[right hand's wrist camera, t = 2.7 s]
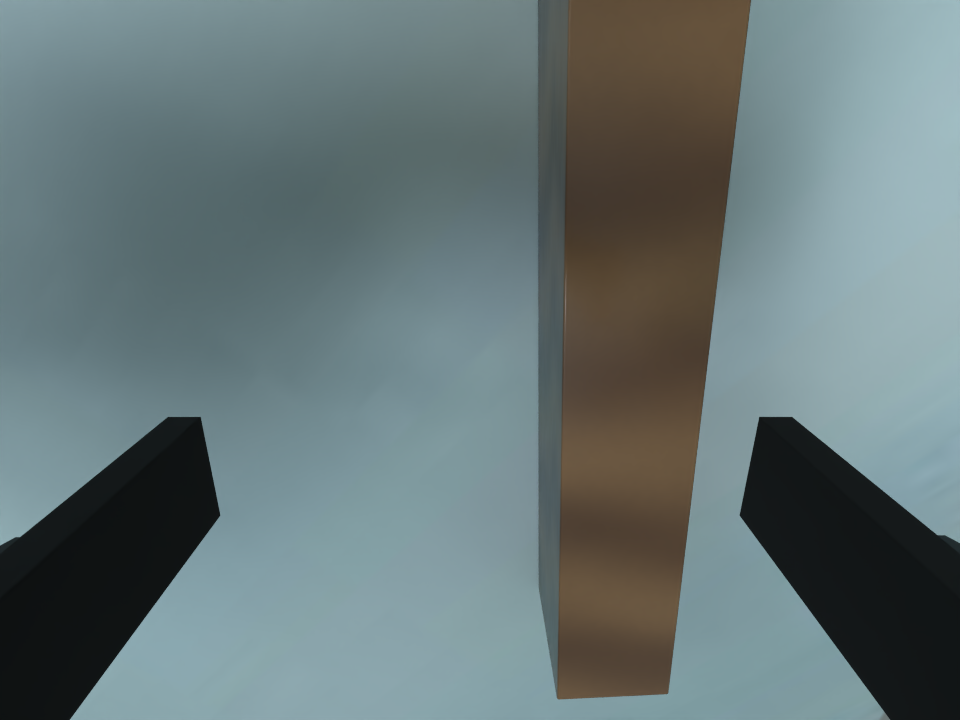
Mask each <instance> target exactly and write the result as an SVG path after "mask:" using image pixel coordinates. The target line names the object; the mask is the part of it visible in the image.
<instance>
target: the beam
mask: <svg viewBox="0 0 960 720" xmlns="http://www.w3.org/2000/svg"><path fill="white" fill-rule="evenodd" d="M750 4H751V0H538V175H539V592H540V598H541V604H542V610H543V616H544V622H545V629H546V635H547V641H548V647H549V653H550V659H551V665H552V671H553V677H554V683H555V689H556V695H557V699H577V698H597V697H617V696H638V695H658V694H668V690H669V682H670V674H671V665H672V657H673V649H674V640H675V632H676V623H677V615H678V607H679V598H680V590H681V582H682V573H683V565H684V556H685V548H686V540H687V531H688V523H689V515H690V506H691V498H692V489H693V481H694V473H695V464H696V456H697V448H698V439H699V431H700V422H701V414H702V406H703V397H704V389H705V380H706V372H707V364H708V355H709V347H710V339H711V330H712V322H713V313H714V305H715V297H716V288H717V280H718V272H719V263H720V255H721V246H722V238H723V230H724V221H725V213H726V205H727V196H728V188H729V179H730V171H731V163H732V154H733V146H734V138H735V129H736V121H737V112H738V104H739V96H740V87H741V79H742V71H743V62H744V54H745V45H746V37H747V29H748V20H749V12H750Z"/></svg>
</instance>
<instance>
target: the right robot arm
mask: <svg viewBox="0 0 960 720" xmlns="http://www.w3.org/2000/svg"><path fill="white" fill-rule="evenodd" d="M219 517H220V512H219V507H218V502H217V497H216V492H215V487H214V482H213V477H212V472H211V467H210V462H209V457H208V452H207V447H206V442H205V437H204V431H203V426H202V421H201V417H167V418H166V419H165V420H164V421H163V422H161V423H160V424H159V425H158V426H156V427H155V428H154V429H153V430H152V431H150V432H149V433H148V434H147V435H145V436H144V437H143V438H142V439H140V440H139V441H138V442H137V443H136V444H134V445H133V446H132V447H131V448H129V449H128V450H127V451H126V452H124V453H123V454H122V455H121V456H120V457H118V458H117V459H116V460H115V461H113V462H112V463H111V464H110V465H108V466H107V467H106V468H105V469H104V470H102V471H101V472H100V473H99V474H97V475H96V476H95V477H94V478H93V479H91V480H90V481H89V482H88V483H86V484H85V485H84V486H83V487H81V488H80V489H79V490H78V491H77V492H75V493H74V494H73V495H72V496H70V497H69V498H68V499H67V500H65V501H64V502H63V503H62V504H61V505H59V506H58V507H57V508H56V509H54V510H53V511H52V512H51V513H49V514H48V515H47V516H46V517H45V518H43V519H42V520H41V521H40V522H38V523H37V524H36V525H35V526H34V527H32V528H31V529H30V530H29V531H27V532H26V533H25V534H24V535H22V536H21V537H15V538H14V539H12V540H10V541H8V542H6V543H4V544H2V545H1V546H0V720H70V719H71V717H72V716H73V715H74V713H75V712H76V710H77V709H78V708H79V706H80V705H81V704H82V702H83V701H84V700H85V698H86V697H87V696H88V694H89V693H90V691H91V690H92V689H93V687H94V686H95V685H96V683H97V682H98V681H99V679H100V678H101V677H102V675H103V674H104V672H105V671H106V670H107V668H108V667H109V666H110V664H111V663H112V662H113V660H114V659H115V658H116V656H117V655H118V653H119V652H120V651H121V649H122V648H123V647H124V645H125V644H126V643H127V641H128V640H129V639H130V637H131V636H132V635H133V633H134V632H135V630H136V629H137V628H138V626H139V625H140V624H141V622H142V621H143V620H144V618H145V617H146V616H147V614H148V613H149V611H150V610H151V609H152V607H153V606H154V605H155V603H156V602H157V601H158V599H159V598H160V597H161V595H162V594H163V592H164V591H165V590H166V588H167V587H168V586H169V584H170V583H171V582H172V580H173V579H174V578H175V576H176V575H177V573H178V572H179V571H180V569H181V568H182V567H183V565H184V564H185V563H186V561H187V560H188V559H189V557H190V556H191V554H192V553H193V552H194V550H195V549H196V548H197V546H198V545H199V544H200V542H201V541H202V540H203V538H204V537H205V536H206V534H207V533H208V531H209V530H210V529H211V527H212V526H213V525H214V523H215V522H216V521H217V519H218V518H219ZM740 517H741V518H742V519H743V521H744V522H745V523H746V525H747V526H748V527H749V529H750V530H751V531H752V533H753V534H754V536H755V537H756V538H757V540H758V541H759V542H760V544H761V545H762V546H763V548H764V549H765V550H766V552H767V553H768V554H769V556H770V557H771V559H772V560H773V561H774V563H775V564H776V565H777V567H778V568H779V569H780V571H781V572H782V573H783V575H784V576H785V578H786V579H787V580H788V582H789V583H790V584H791V586H792V587H793V588H794V590H795V591H796V592H797V594H798V595H799V597H800V598H801V599H802V601H803V602H804V603H805V605H806V606H807V607H808V609H809V610H810V611H811V613H812V614H813V616H814V617H815V618H816V620H817V621H818V622H819V624H820V625H821V626H822V628H823V629H824V630H825V632H826V633H827V635H828V636H829V637H830V639H831V640H832V641H833V643H834V644H835V645H836V647H837V648H838V649H839V651H840V652H841V653H842V655H843V656H844V658H845V659H846V660H847V662H848V663H849V664H850V666H851V667H852V668H853V670H854V671H855V672H856V674H857V675H858V677H859V678H860V679H861V681H862V682H863V683H864V685H865V686H866V687H867V689H868V690H869V691H870V693H871V694H872V696H873V697H874V698H875V700H876V701H877V702H878V704H879V705H880V706H881V708H882V709H883V710H884V712H885V713H886V714H887V716H888V717H889V719H890V720H960V543H958V542H956V541H954V540H953V539H951V538H949V537H947V536H945V535H936V534H935V533H934V532H933V531H931V530H930V529H929V528H928V527H926V526H925V525H924V524H923V523H922V522H920V521H919V520H918V519H917V518H915V517H914V516H913V515H912V514H911V513H909V512H908V511H907V510H906V509H904V508H903V507H902V506H901V505H899V504H898V503H897V502H896V501H895V500H893V499H892V498H891V497H890V496H888V495H887V494H886V493H885V492H883V491H882V490H881V489H880V488H879V487H877V486H876V485H875V484H874V483H872V482H871V481H870V480H869V479H867V478H866V477H865V476H864V475H863V474H861V473H860V472H859V471H858V470H856V469H855V468H854V467H853V466H852V465H850V464H849V463H848V462H847V461H845V460H844V459H843V458H842V457H840V456H839V455H838V454H837V453H836V452H834V451H833V450H832V449H831V448H829V447H828V446H827V445H826V444H824V443H823V442H822V441H821V440H820V439H818V438H817V437H816V436H815V435H813V434H812V433H811V432H810V431H808V430H807V429H806V428H805V427H804V426H802V425H801V424H800V423H799V422H797V421H796V420H795V419H794V418H793V417H759V421H758V427H757V432H756V437H755V442H754V447H753V452H752V457H751V462H750V467H749V472H748V477H747V482H746V487H745V492H744V497H743V502H742V507H741V512H740Z"/></svg>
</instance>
